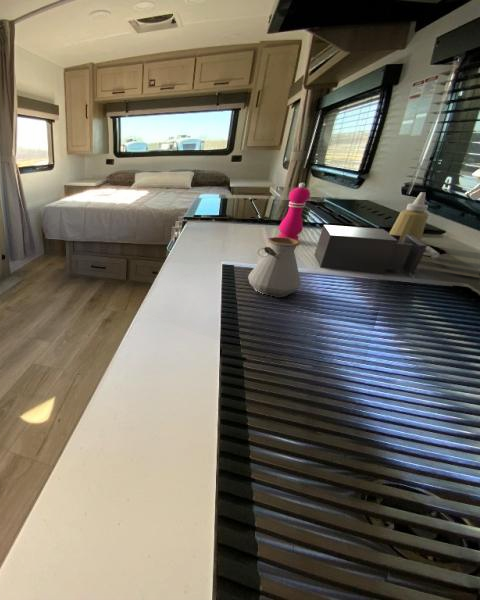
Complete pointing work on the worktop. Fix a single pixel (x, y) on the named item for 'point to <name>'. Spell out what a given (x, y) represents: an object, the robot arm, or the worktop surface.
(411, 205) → the squeeze bottle
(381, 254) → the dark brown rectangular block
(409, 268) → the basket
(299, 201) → the pepper mill
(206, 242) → the worktop surface
